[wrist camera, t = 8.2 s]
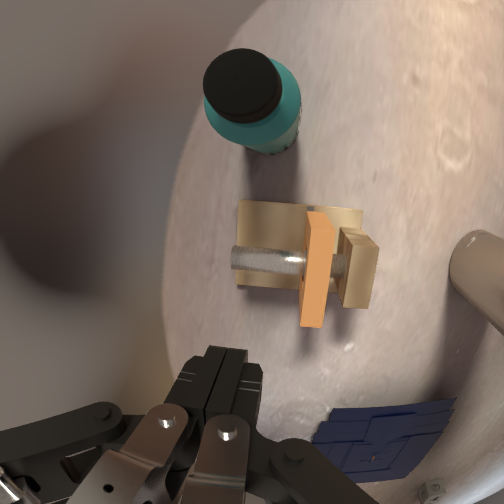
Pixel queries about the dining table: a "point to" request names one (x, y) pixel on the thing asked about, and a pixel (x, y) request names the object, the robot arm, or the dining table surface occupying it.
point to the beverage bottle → (252, 100)
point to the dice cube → (432, 491)
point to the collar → (316, 268)
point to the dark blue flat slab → (382, 438)
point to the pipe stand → (291, 249)
